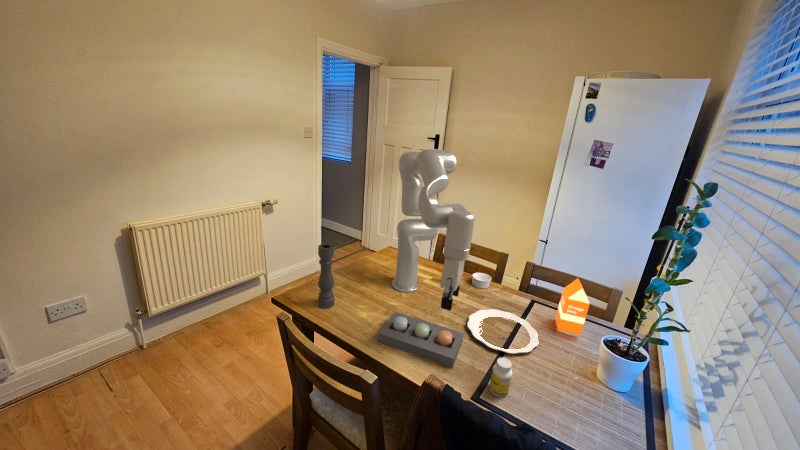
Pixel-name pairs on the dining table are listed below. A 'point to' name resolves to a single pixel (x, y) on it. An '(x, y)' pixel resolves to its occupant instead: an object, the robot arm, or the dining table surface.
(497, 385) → the supplement bottle
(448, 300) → the robot arm
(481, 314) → the plate
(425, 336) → the sage button
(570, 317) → the orange juice
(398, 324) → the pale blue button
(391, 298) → the dining table surface
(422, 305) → the dining table surface
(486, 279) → the ramekin
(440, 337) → the terracotta button
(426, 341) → the button panel
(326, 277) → the candle holder
